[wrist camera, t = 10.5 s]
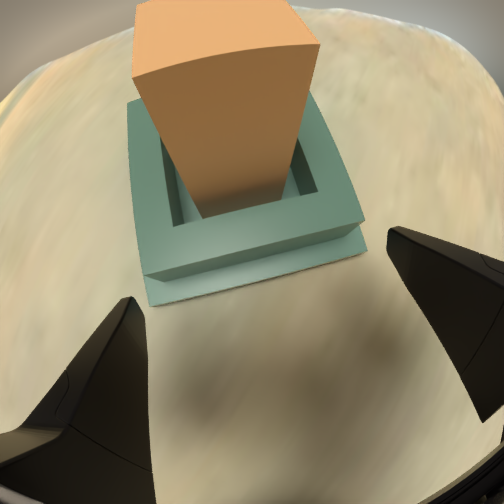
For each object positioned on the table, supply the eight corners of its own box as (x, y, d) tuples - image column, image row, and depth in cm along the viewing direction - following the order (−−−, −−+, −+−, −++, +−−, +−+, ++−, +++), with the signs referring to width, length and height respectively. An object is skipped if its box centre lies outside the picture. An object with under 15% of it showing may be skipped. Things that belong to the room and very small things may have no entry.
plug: (280, 200, 18) (320, 43, 6) (202, 219, 17) (131, 78, 6) (260, 136, 19) (267, -19, 7) (189, 153, 18) (136, 4, 7)
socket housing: (363, 253, 18) (392, 237, 14) (153, 306, 17) (125, 305, 13) (298, 91, 20) (306, 54, 16) (131, 129, 20) (111, 97, 16)
